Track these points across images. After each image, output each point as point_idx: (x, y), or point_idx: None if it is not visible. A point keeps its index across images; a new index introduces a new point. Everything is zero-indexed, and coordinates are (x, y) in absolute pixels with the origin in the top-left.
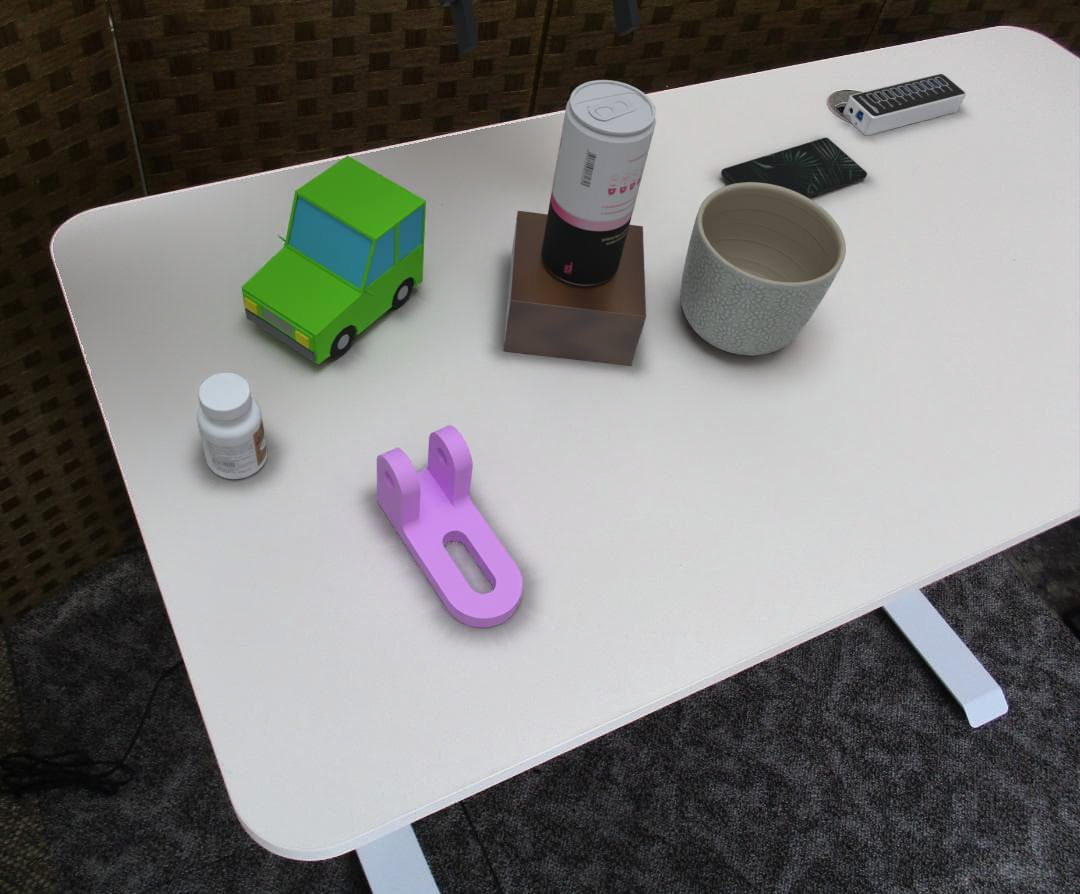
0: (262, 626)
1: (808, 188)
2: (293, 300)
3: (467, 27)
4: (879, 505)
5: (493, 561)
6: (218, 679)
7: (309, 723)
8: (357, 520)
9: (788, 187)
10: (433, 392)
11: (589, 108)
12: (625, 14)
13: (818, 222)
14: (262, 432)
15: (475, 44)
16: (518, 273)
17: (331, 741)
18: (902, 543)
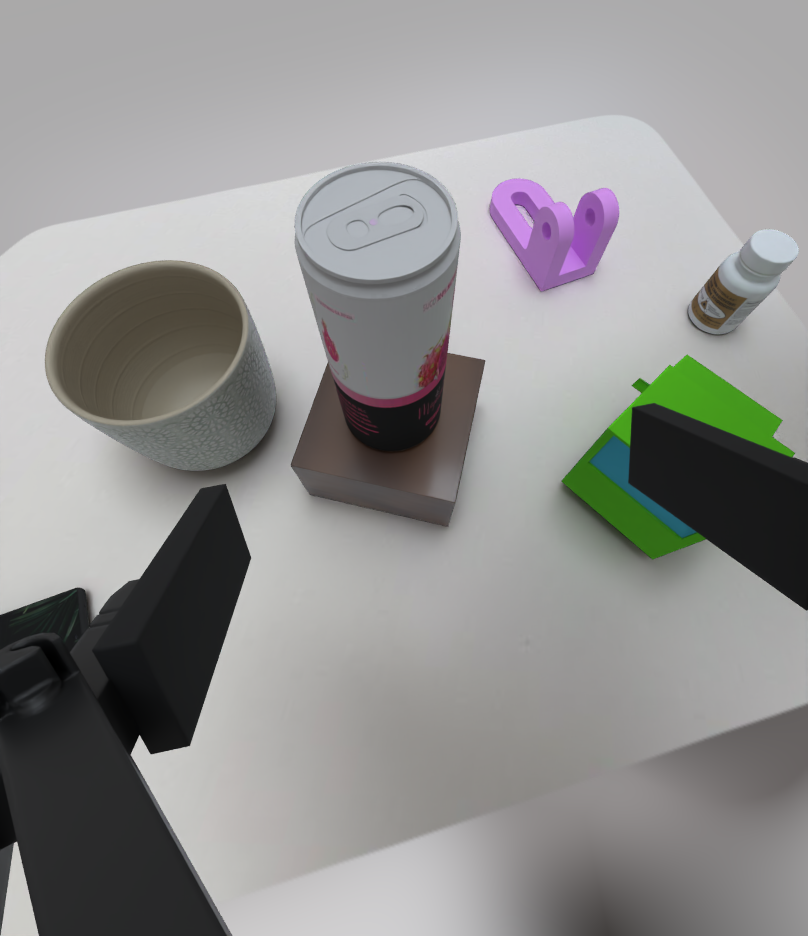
0: (663, 204)
1: None
2: (721, 394)
3: (680, 413)
4: (191, 240)
5: (511, 209)
6: (684, 181)
7: (625, 157)
8: (607, 262)
9: (9, 634)
10: (546, 363)
11: (421, 219)
12: (224, 525)
13: (64, 375)
14: (709, 282)
15: (642, 405)
16: (470, 396)
17: (611, 149)
18: (193, 215)
